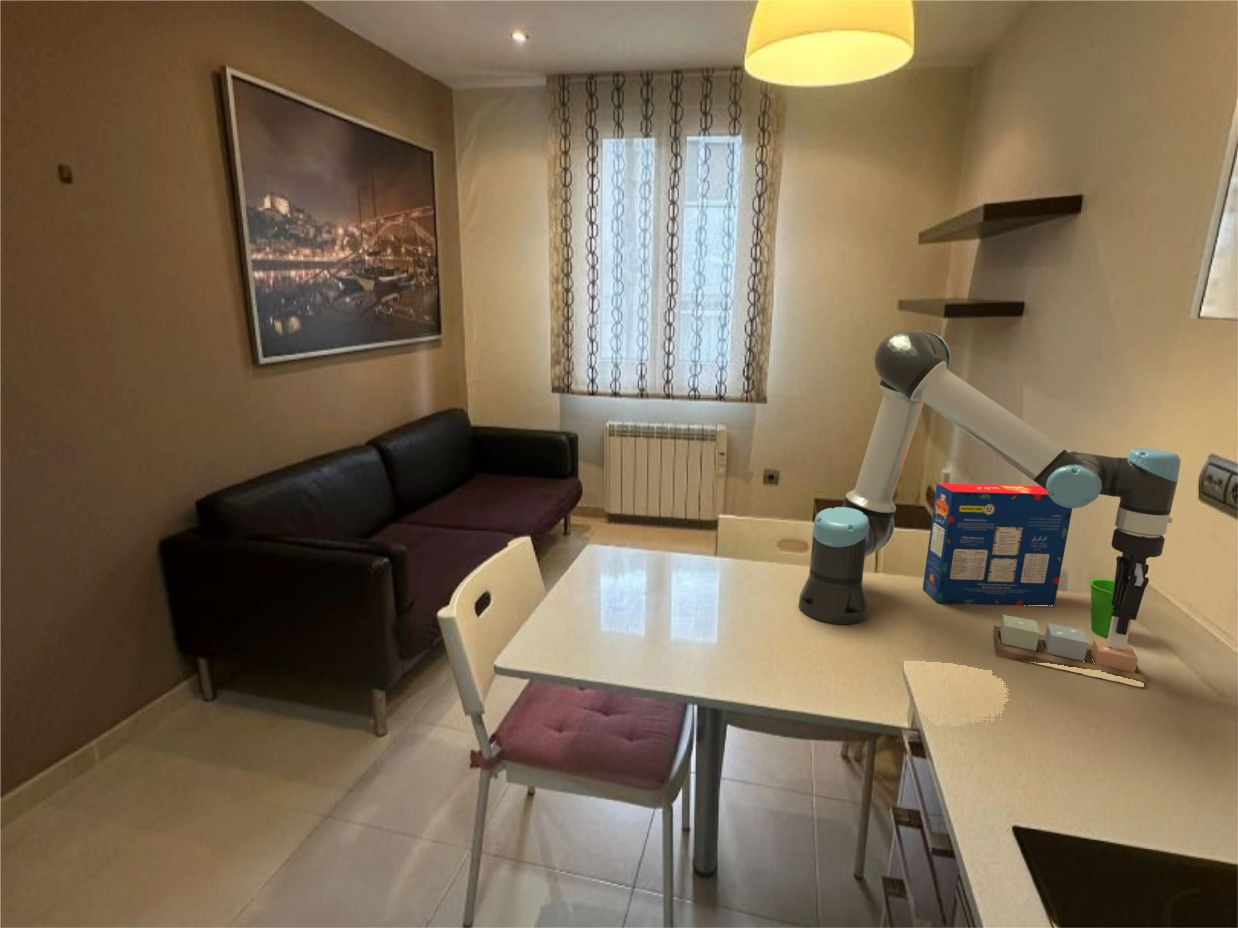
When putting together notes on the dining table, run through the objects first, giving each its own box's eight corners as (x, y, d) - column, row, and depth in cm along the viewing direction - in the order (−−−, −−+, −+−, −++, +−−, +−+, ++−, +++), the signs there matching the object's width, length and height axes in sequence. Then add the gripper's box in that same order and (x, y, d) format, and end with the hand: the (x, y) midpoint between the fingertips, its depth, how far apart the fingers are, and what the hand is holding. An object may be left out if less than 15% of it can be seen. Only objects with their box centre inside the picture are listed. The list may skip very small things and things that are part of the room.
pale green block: (1001, 643, 132) (1004, 625, 131) (1000, 631, 137) (1003, 613, 136) (1036, 651, 129) (1039, 632, 128) (1033, 638, 134) (1036, 620, 133)
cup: (1140, 645, 136) (1151, 597, 133) (1092, 640, 137) (1102, 592, 135) (1117, 626, 144) (1127, 580, 142) (1072, 621, 146) (1081, 576, 144)
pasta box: (1033, 593, 162) (1052, 486, 155) (1054, 606, 154) (1074, 494, 148) (922, 590, 162) (936, 483, 156) (937, 603, 154) (952, 491, 148)
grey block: (1047, 653, 128) (1051, 634, 127) (1044, 641, 133) (1047, 622, 132) (1084, 661, 125) (1087, 641, 124) (1079, 648, 131) (1082, 629, 130)
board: (995, 655, 130) (996, 648, 130) (993, 631, 140) (994, 625, 140) (1143, 688, 119) (1145, 681, 119) (1129, 659, 129) (1130, 652, 129)
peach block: (1095, 669, 125) (1099, 650, 124) (1090, 656, 130) (1093, 637, 129) (1133, 677, 122) (1138, 658, 121) (1126, 663, 127) (1130, 644, 126)
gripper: (1175, 545, 113) (1148, 666, 118) (1155, 525, 124) (1132, 637, 129) (1122, 537, 116) (1098, 656, 121) (1108, 519, 127) (1087, 628, 132)
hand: (1116, 646), depth 125 cm, fingers closed
